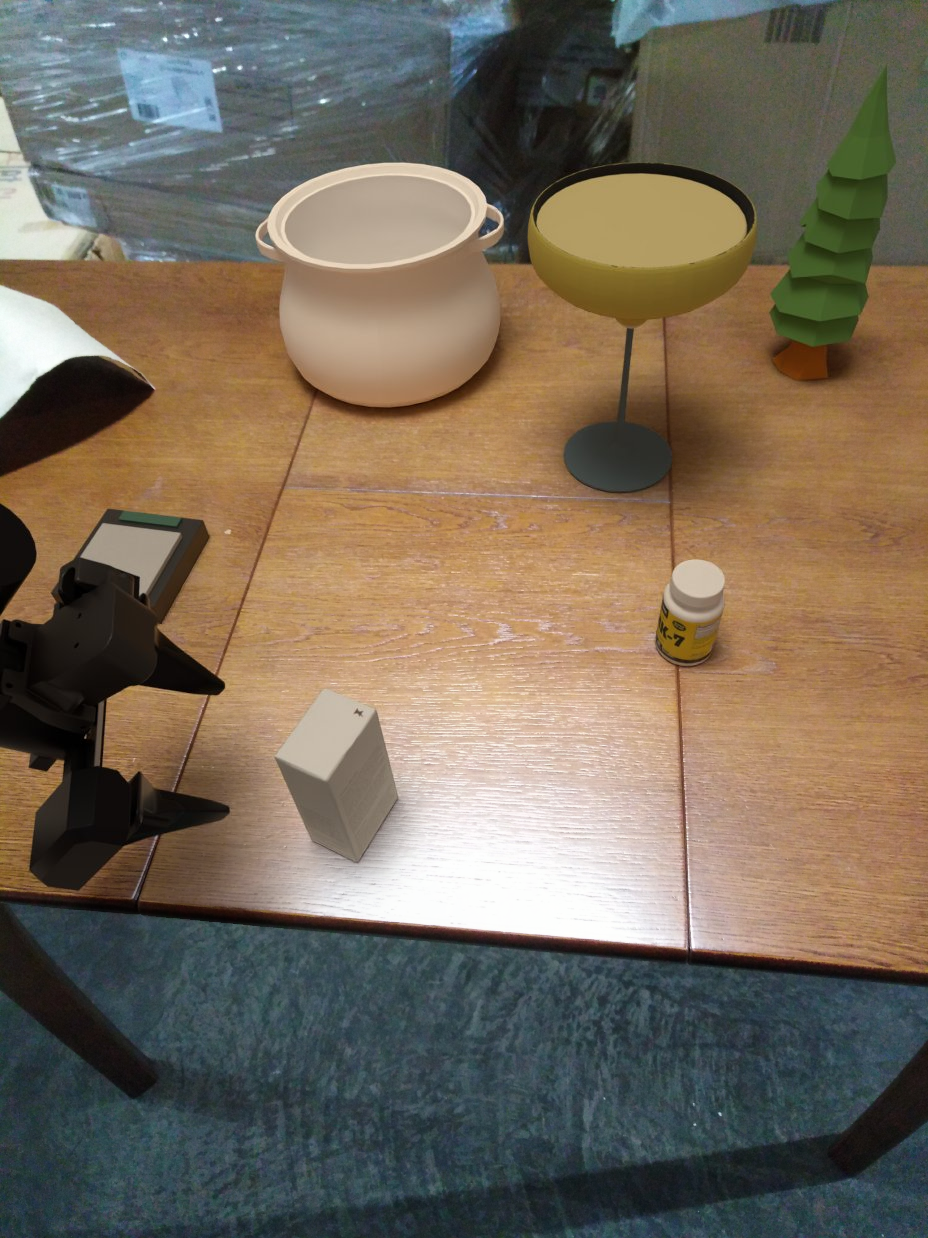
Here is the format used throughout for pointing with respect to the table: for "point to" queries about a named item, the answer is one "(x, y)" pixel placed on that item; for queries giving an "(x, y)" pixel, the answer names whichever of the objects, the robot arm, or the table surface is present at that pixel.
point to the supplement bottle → (690, 613)
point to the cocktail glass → (637, 278)
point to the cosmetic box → (339, 773)
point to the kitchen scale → (147, 551)
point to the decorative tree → (836, 244)
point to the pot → (385, 281)
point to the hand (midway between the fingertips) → (224, 748)
